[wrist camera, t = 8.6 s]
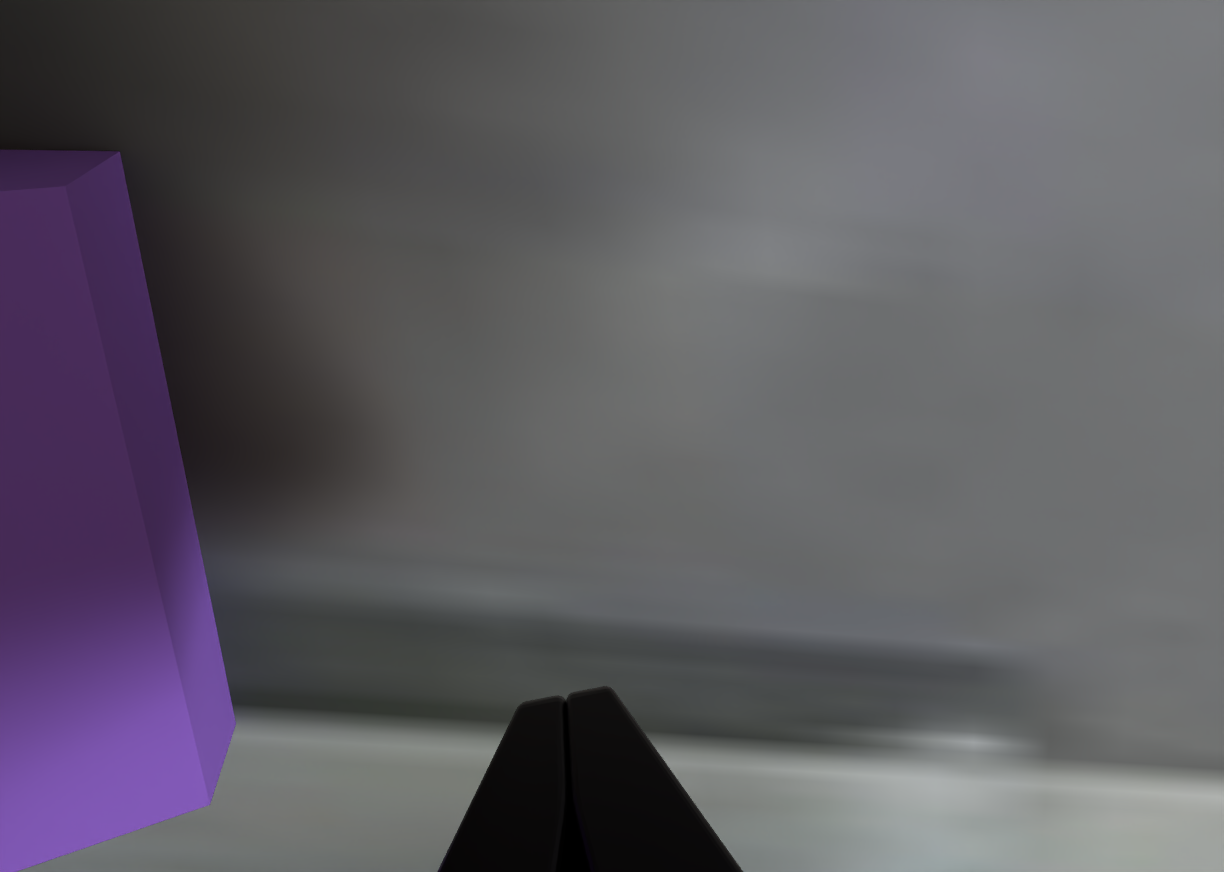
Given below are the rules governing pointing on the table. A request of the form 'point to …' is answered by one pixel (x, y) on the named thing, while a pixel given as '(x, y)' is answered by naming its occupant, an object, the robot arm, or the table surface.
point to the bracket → (93, 531)
